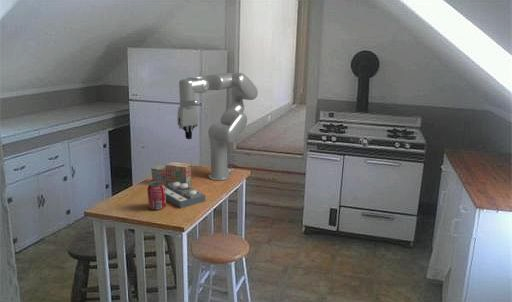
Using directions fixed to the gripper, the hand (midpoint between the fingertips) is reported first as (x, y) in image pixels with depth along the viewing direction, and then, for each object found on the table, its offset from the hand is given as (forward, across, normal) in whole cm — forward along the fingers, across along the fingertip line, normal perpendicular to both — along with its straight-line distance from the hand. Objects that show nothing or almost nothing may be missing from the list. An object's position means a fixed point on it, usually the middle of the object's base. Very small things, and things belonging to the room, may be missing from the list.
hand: (188, 138), depth 207 cm
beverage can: (+27, +27, +13) cm, 40 cm away
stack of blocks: (+28, +5, -11) cm, 30 cm away
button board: (+27, +12, +10) cm, 31 cm away
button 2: (+24, +10, +18) cm, 31 cm away
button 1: (+24, +10, +2) cm, 26 cm away
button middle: (+22, +10, +10) cm, 26 cm away
